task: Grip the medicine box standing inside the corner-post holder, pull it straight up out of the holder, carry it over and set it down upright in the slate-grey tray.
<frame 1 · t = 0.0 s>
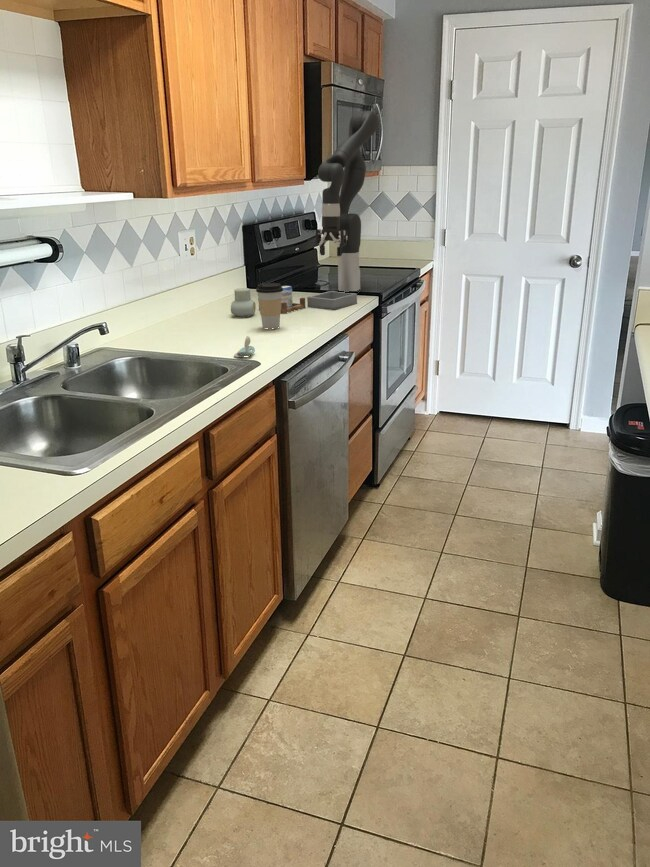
hand: (330, 255, 299), 17 cm above the worktop, tool pointing down, fingers open, 8 cm apart
pacifier: (244, 357, 215), on the worktop
tray: (332, 305, 287), on the worktop
holder: (282, 309, 282), on the worktop
medicine box: (282, 309, 282), resting in holder
coffee cup: (271, 328, 251), on the worktop
air freshener: (243, 316, 272), on the worktop
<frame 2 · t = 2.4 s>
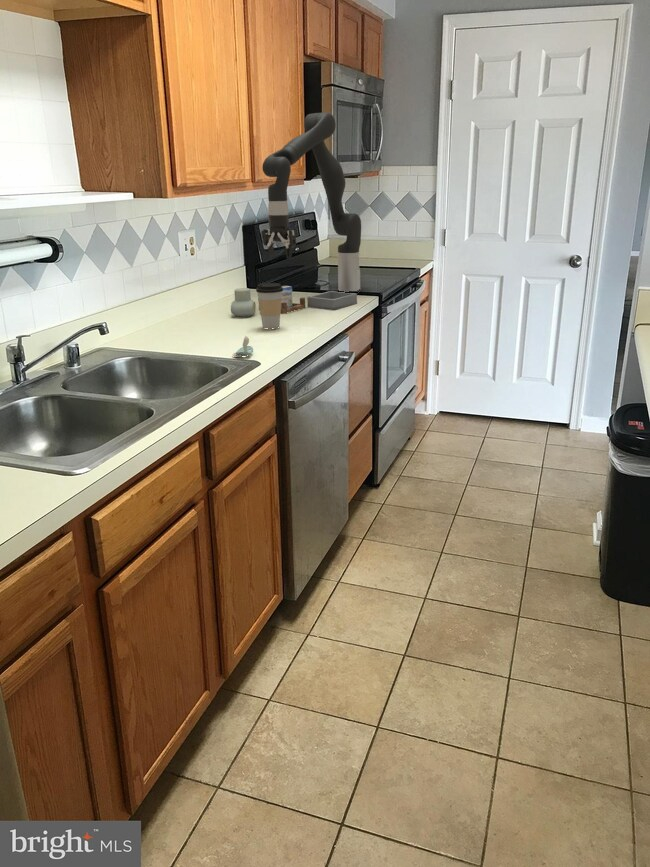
hand: (280, 257, 275), 20 cm above the worktop, tool pointing down, fingers open, 8 cm apart
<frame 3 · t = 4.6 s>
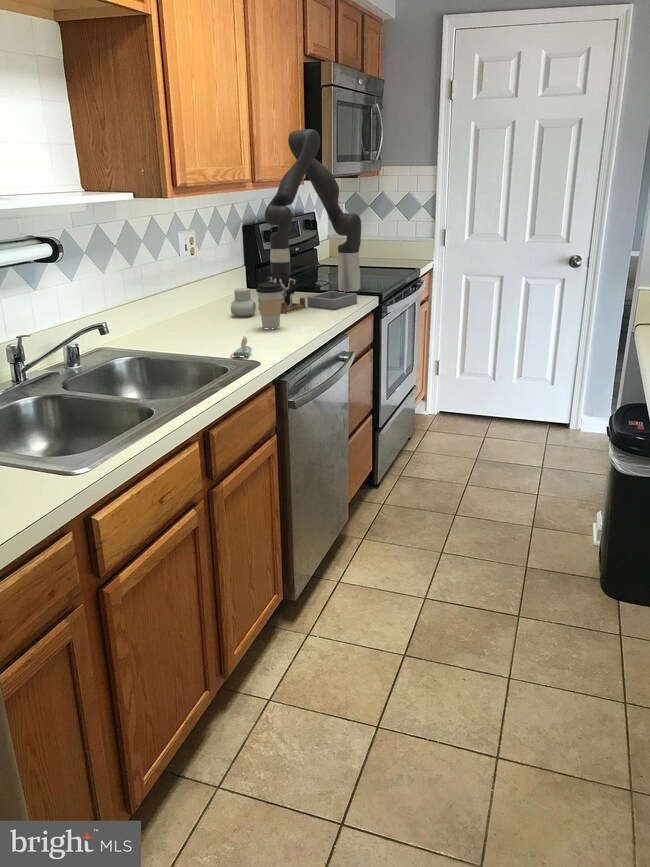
hand: (282, 304, 281), 2 cm above the worktop, tool pointing down, fingers closed on medicine box, 4 cm apart
medicine box: (282, 309, 282), resting in holder, touching gripper
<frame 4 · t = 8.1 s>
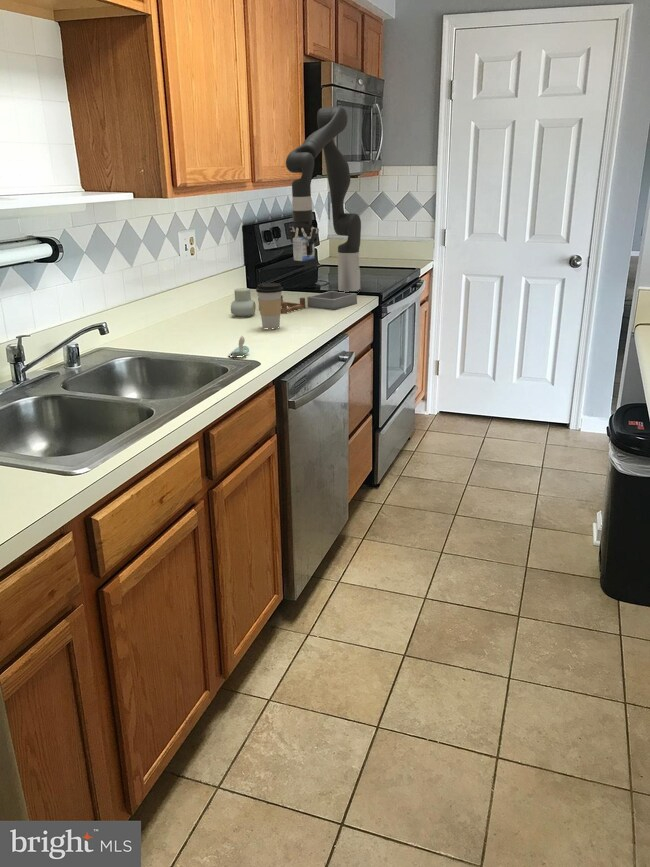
hand: (304, 254, 277), 20 cm above the worktop, tool pointing down, fingers closed on medicine box, 4 cm apart
medicine box: (304, 260, 278), point 18 cm above the worktop, touching gripper
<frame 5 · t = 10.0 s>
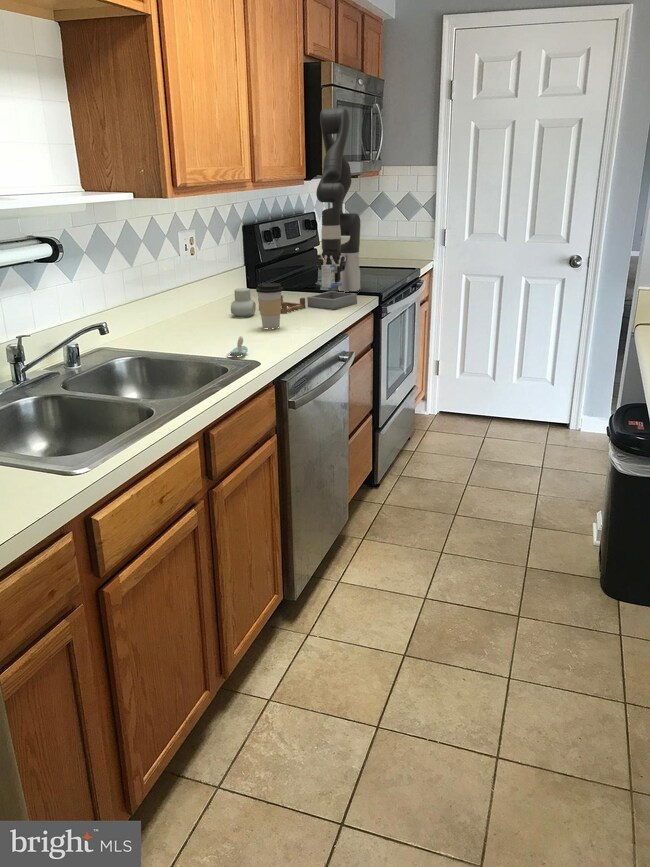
hand: (331, 281, 284), 9 cm above the worktop, tool pointing down, fingers closed on medicine box, 4 cm apart
medicine box: (331, 286, 284), point 7 cm above the worktop, touching gripper
when the fingers open (4 cm above the worktop, at t = 11.6 s): medicine box drops 1 cm, resting on tray.
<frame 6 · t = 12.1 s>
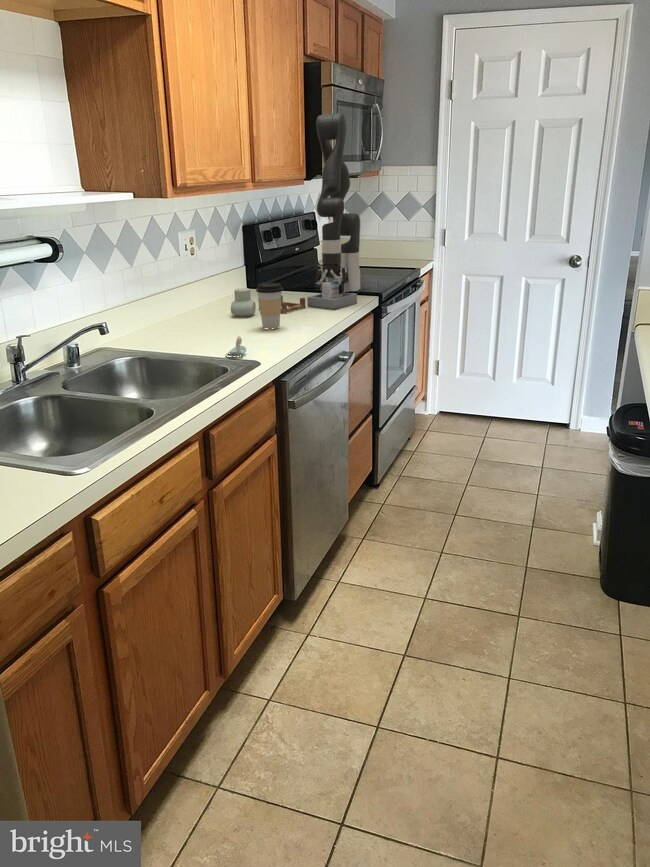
hand: (332, 293, 285), 5 cm above the worktop, tool pointing down, fingers open, 8 cm apart
medicine box: (332, 303, 287), point 1 cm above the worktop, touching tray
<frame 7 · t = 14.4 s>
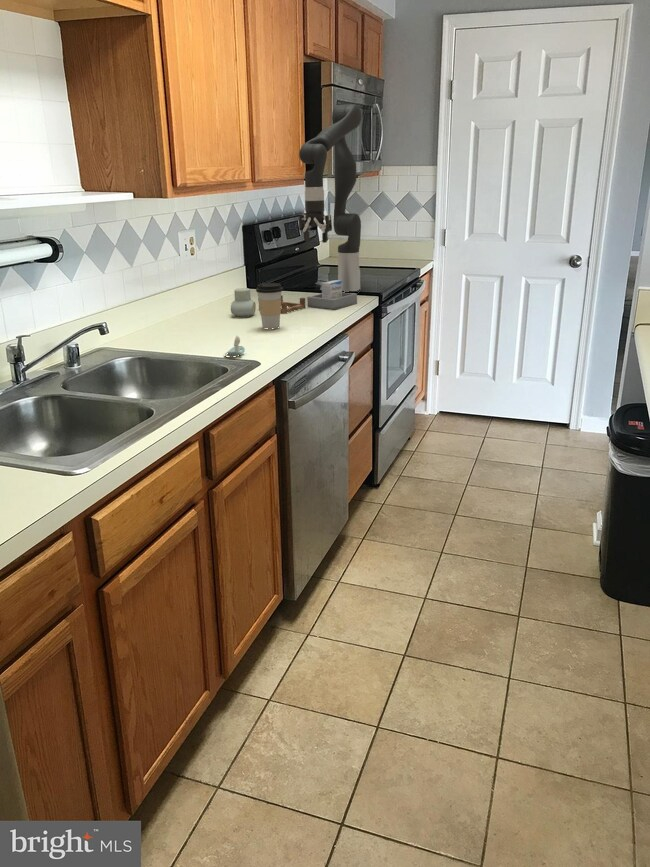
hand: (315, 242, 284), 24 cm above the worktop, tool pointing down, fingers open, 8 cm apart
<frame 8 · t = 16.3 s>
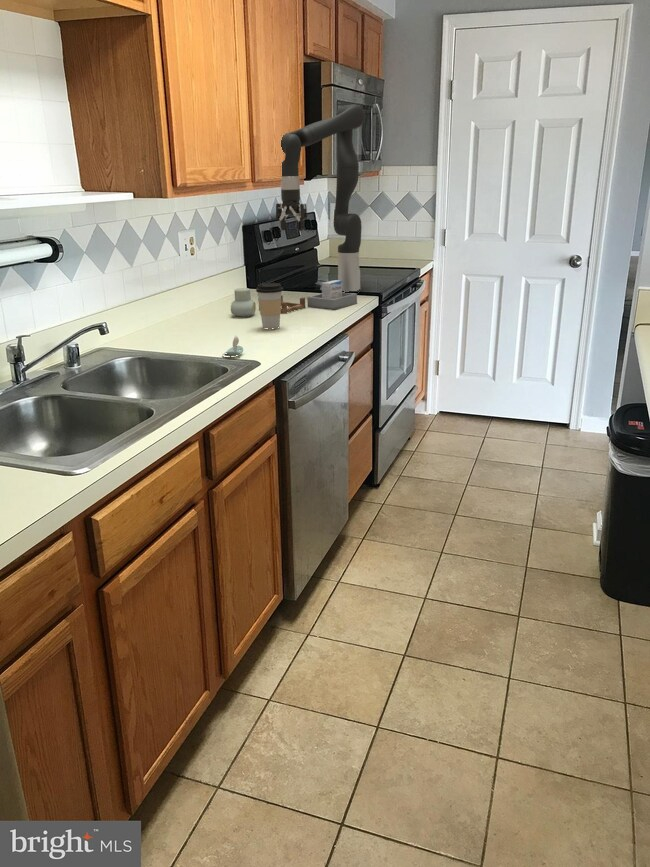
hand: (291, 230, 291), 28 cm above the worktop, tool pointing down, fingers open, 8 cm apart
at the end: medicine box inside the target area on the tray (0.2 cm from its centre), point 0.6 cm above the tray's base; medicine box tilted 0°; the gripper is holding nothing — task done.
